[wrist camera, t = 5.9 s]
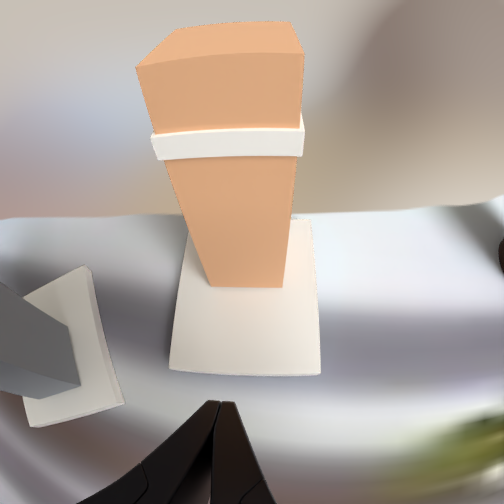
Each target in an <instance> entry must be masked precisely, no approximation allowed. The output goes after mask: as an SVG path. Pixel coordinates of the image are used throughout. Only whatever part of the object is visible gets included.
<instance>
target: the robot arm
mask: <svg viewBox="0 0 504 504" xmlns="http://www.w3.org/2000/svg"><path fill="white" fill-rule="evenodd" d="M210 493H211V496H210ZM209 497H210V504H277V503H276V501H275V499H274V497H273V495H272V493H271V491H270V489H269V487H268V484H267V482H266V480H265V478H264V475H263V473H262V471H261V468H260V466H259V463H258V461H257V458H256V456H255V454H254V451H253V449H252V446H251V443H250V441H249V438H248V436H247V433H246V431H245V428H244V425H243V423H242V420H241V417H240V415H239V412H238V409H237V407H236V404H235V402H230V401H222V402H220V401H215V400H208V401H206V402H205V403H204V404H203V405H202V406H201V407H200V408H199V409H198V410H197V411H196V412H195V413H194V414H193V415H192V416H191V417H190V418H189V419H188V420H187V421H186V422H185V423H184V424H183V425H181V426H180V427H179V428H178V429H177V430H176V431H175V432H174V433H173V434H172V435H171V436H170V437H168V438H167V439H166V440H165V441H164V442H163V443H162V444H161V445H160V446H158V447H157V448H156V449H155V450H154V451H153V452H152V453H151V454H149V455H148V456H147V457H146V458H145V459H144V460H142V461H141V463H139V464H138V465H136V466H135V467H134V468H133V469H132V470H130V471H129V472H128V473H126V474H125V475H124V476H122V477H121V478H120V479H118V480H117V481H115V482H114V483H112V484H111V485H109V486H107V487H106V488H104V489H102V490H101V491H99V492H97V493H95V494H94V495H92V496H90V497H88V498H86V499H84V500H83V501H81V502H79V503H77V504H208V500H209Z"/></svg>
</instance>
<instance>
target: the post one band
mask: <svg viewBox="0 0 504 504" xmlns="http://www.w3.org/2000/svg"><path fill="white" fill-rule="evenodd" d="M135 68H136V72H137V75H138V79H139V82H140V86H141V89H142V92H143V96H144V99H145V103H146V106H147V109H148V113H149V115H150V119H151V122H152V125H153V129H154V131H153V133H152V135H151V137H150V140H151V143H152V145H153V148H154V151H155V154H156V157H157V160H158V161H160V160H164V162H165V165H166V168H167V171H168V174H169V177H170V180H171V182H172V185H173V188H174V190H175V194H176V197H177V199H178V202H179V205H180V208H181V210H182V213H183V216H184V219H185V221H186V224H187V227H188V229H189V232H190V235H191V237H192V240H193V242H194V245H195V248H196V250H197V253H198V255H199V258H200V260H201V263H202V265H203V268H204V270H205V273H206V275H207V278H208V280H209V283H210V285H211V287H253V288H282V286H283V279H284V271H285V263H286V255H287V247H288V239H289V230H290V221H291V212H292V202H293V194H294V182H295V173H296V162H297V156H302V155H303V146H304V136H305V129H304V124H303V119H302V114H301V102H302V88H303V71H304V52H303V49H302V47H301V45H300V43H299V40H298V38H297V36H296V33H295V31H294V29H293V27H292V25H291V23H290V22H273V21H265V22H233V23H221V24H210V25H202V26H194V27H187V28H181V29H176V30H175V31H174V32H173V33H171V34H170V35H169V36H168V37H167V38H165V39H164V40H163V41H162V42H161V43H160V44H159V45H158V46H157V47H156V48H155V49H154V50H152V52H150V53H149V54H148V55H147V56H146V57H145V58H144V59H143V60H142V61H141V62H140V63H139V64H138V65H137V66H136V67H135Z"/></svg>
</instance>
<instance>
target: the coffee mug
mask: <svg viewBox="0 0 504 504" xmlns="http://www.w3.org/2000/svg"><path fill="white" fill-rule="evenodd" d="M499 260H500V264H501V267H502V270H503V272H504V239H503V240H502V242H501V243H500V246H499Z"/></svg>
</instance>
